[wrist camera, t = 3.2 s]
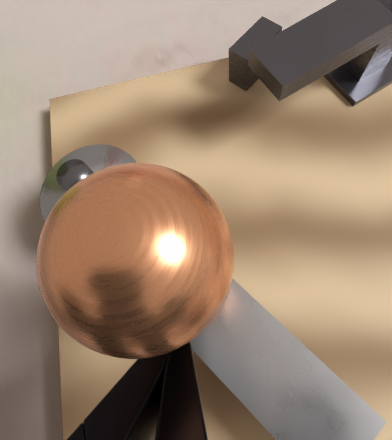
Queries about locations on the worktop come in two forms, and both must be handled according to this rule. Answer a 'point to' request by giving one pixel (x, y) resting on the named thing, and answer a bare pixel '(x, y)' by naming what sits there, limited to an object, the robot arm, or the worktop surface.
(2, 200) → the worktop surface
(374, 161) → the board
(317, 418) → the latch lever
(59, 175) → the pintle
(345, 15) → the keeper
